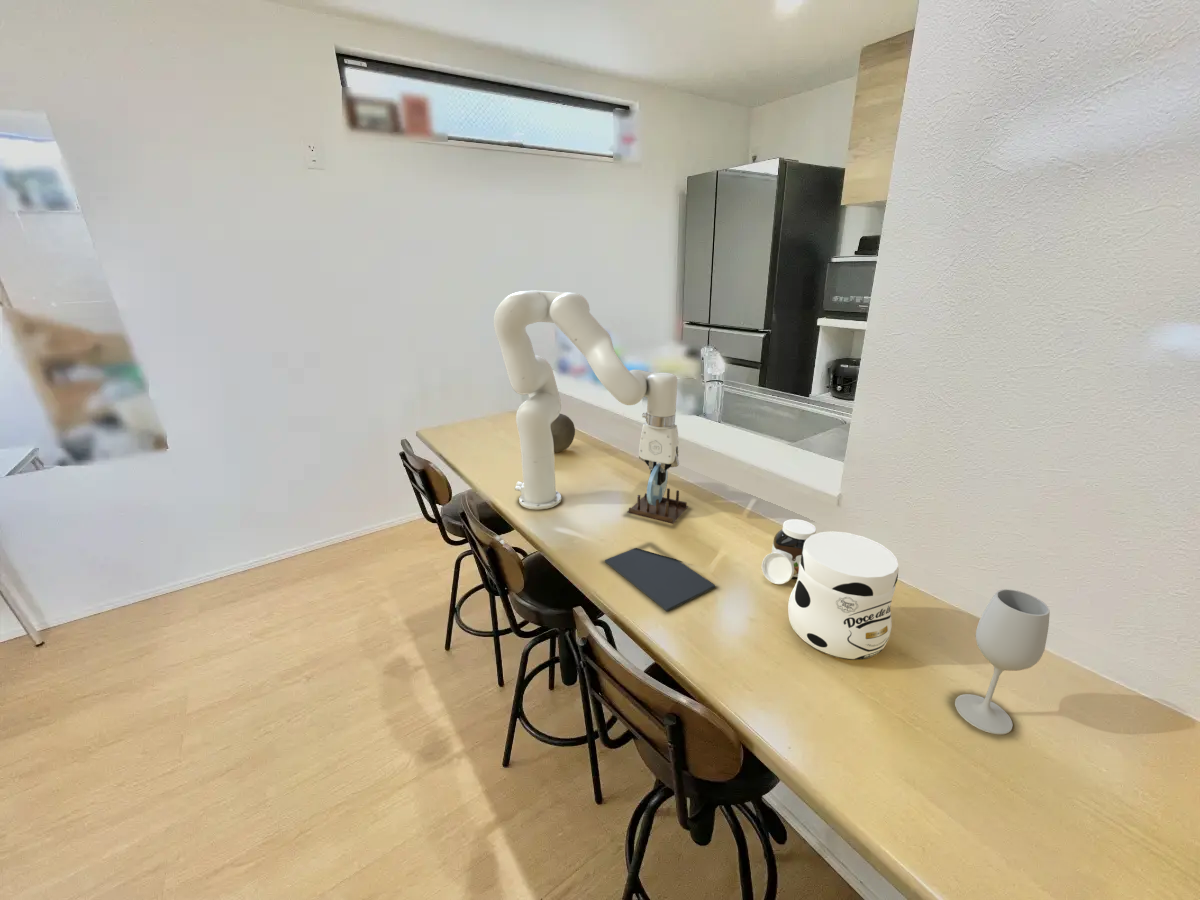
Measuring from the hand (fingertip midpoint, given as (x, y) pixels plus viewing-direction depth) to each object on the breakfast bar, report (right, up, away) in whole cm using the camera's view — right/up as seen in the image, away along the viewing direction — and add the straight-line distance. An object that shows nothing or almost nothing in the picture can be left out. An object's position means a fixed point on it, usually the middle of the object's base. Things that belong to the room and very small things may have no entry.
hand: (657, 482), depth 137 cm
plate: (0, -6, +2) cm, 7 cm away
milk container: (+28, -26, -44) cm, 58 cm away
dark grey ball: (-32, +8, +50) cm, 60 cm away
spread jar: (+27, -19, -26) cm, 42 cm away
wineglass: (+43, -32, -61) cm, 81 cm away
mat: (-3, -19, -25) cm, 32 cm away
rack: (0, -9, +3) cm, 9 cm away
